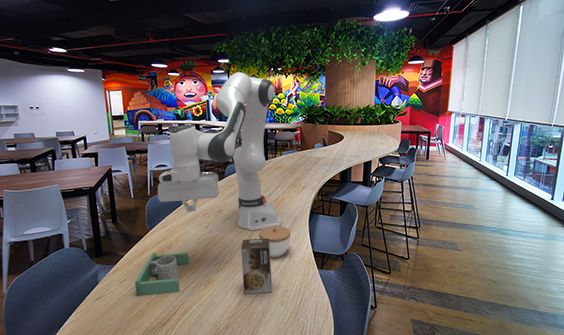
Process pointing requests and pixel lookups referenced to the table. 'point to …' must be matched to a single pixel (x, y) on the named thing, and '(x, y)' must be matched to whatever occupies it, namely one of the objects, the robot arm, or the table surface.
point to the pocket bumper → (160, 285)
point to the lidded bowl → (276, 239)
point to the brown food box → (256, 265)
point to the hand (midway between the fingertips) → (191, 211)
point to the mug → (165, 268)
